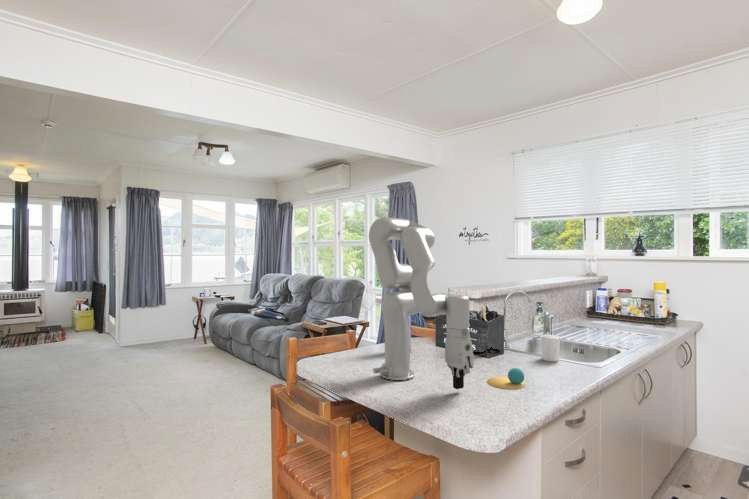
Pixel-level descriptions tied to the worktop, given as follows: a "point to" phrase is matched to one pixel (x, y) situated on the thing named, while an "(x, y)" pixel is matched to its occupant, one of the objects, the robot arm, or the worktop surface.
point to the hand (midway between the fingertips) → (458, 387)
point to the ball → (516, 376)
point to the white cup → (550, 347)
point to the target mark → (504, 383)
